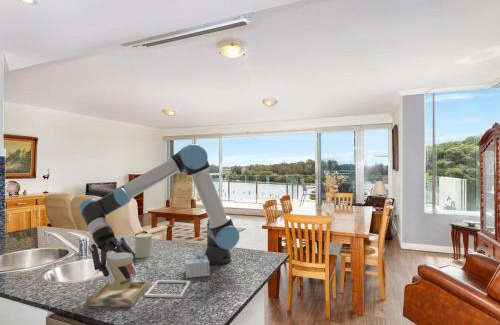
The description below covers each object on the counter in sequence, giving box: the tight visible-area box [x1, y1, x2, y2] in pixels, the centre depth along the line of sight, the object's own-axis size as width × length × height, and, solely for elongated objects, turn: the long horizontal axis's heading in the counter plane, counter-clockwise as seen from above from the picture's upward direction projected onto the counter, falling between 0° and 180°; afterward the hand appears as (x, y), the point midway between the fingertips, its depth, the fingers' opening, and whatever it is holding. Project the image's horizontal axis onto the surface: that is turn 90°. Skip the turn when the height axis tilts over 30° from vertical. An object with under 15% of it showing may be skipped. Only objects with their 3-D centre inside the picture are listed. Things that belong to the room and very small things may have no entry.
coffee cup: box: [106, 252, 134, 291], centre depth 110 cm, size 9×9×12 cm
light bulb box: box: [184, 255, 211, 279], centre depth 135 cm, size 11×7×11 cm
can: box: [134, 233, 153, 259], centre depth 162 cm, size 9×9×12 cm
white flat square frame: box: [143, 279, 191, 299], centre depth 117 cm, size 15×15×1 cm
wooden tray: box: [85, 280, 150, 308], centre depth 110 cm, size 16×17×3 cm
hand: (124, 278), depth 109 cm, fingers closed on coffee cup, 9 cm apart
